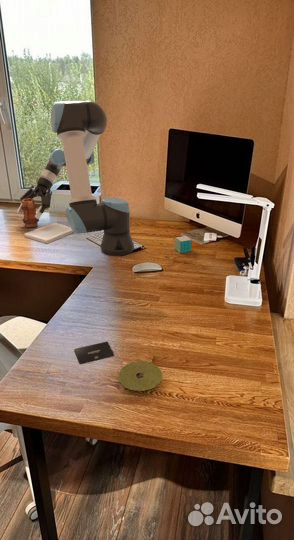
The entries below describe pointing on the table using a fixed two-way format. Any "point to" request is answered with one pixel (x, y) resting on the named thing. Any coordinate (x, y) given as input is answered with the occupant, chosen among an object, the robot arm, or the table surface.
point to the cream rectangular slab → (49, 233)
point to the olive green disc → (140, 375)
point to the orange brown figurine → (29, 212)
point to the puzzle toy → (183, 244)
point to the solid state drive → (93, 352)
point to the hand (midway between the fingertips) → (27, 215)
